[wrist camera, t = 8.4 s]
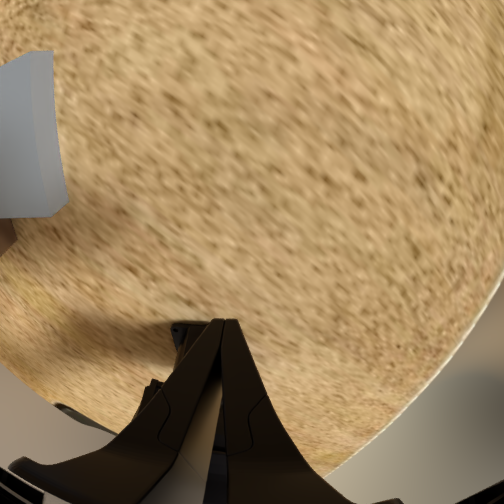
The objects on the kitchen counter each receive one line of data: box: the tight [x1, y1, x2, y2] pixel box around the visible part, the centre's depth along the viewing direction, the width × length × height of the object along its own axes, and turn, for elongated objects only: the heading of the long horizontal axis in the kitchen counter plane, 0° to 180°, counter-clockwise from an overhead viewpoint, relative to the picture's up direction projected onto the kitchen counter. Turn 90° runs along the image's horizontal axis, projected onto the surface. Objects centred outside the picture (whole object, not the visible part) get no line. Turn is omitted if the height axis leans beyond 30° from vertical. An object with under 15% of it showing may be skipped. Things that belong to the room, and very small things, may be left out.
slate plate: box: [0, 51, 69, 218], centre depth 15 cm, size 12×8×3 cm, turn 178°
